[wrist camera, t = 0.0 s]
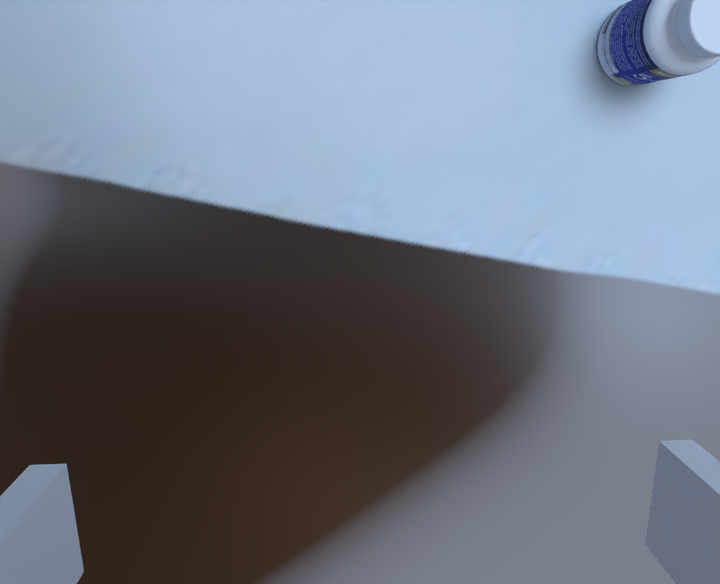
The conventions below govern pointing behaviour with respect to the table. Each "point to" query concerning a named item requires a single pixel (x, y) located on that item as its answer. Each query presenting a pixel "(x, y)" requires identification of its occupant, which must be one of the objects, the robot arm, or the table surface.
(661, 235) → the table surface
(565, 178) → the table surface
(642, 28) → the pill bottle
